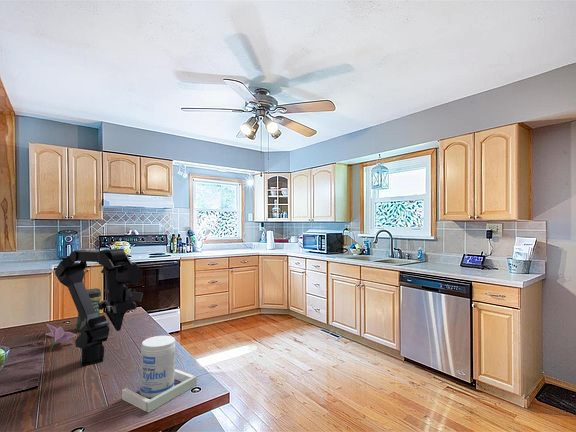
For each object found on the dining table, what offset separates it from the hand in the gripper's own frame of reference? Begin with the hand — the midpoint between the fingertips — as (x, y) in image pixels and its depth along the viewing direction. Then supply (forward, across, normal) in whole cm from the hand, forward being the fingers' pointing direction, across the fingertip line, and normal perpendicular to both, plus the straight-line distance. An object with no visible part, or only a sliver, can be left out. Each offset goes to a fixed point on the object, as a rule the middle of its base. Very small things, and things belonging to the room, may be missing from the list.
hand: (118, 330), depth 106 cm
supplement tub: (+16, -22, -2) cm, 27 cm away
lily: (+8, +39, +10) cm, 41 cm away
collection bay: (+16, -24, -3) cm, 29 cm away
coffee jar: (+7, +56, -5) cm, 56 cm away
